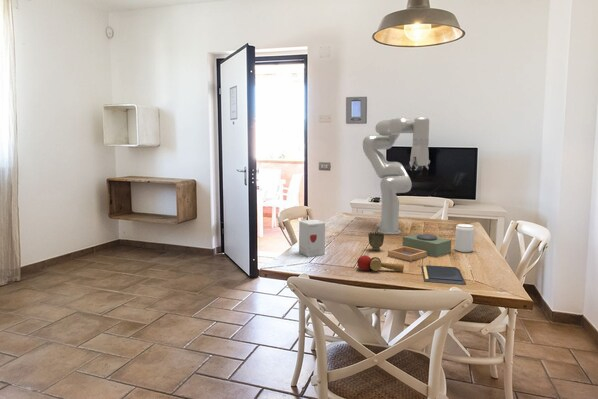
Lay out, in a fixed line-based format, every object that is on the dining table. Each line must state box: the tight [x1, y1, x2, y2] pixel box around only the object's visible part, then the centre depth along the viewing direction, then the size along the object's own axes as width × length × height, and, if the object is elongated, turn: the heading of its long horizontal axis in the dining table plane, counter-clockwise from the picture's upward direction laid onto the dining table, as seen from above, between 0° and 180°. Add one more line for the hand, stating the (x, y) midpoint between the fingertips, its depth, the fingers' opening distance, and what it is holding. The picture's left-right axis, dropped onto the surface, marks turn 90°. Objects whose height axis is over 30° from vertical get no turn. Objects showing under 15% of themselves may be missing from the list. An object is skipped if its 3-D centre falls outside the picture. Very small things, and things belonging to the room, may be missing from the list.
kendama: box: [356, 255, 404, 273], centre depth 165 cm, size 8×6×18 cm
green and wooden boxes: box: [387, 232, 452, 263], centre depth 189 cm, size 18×27×7 cm, turn 130°
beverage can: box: [454, 223, 475, 253], centre depth 194 cm, size 8×8×12 cm
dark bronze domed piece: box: [367, 231, 385, 252], centre depth 195 cm, size 8×7×8 cm
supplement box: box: [298, 219, 326, 258], centre depth 189 cm, size 9×9×15 cm
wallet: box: [420, 265, 467, 286], centre depth 160 cm, size 20×2×15 cm
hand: (419, 177), depth 206 cm, fingers open, 9 cm apart
